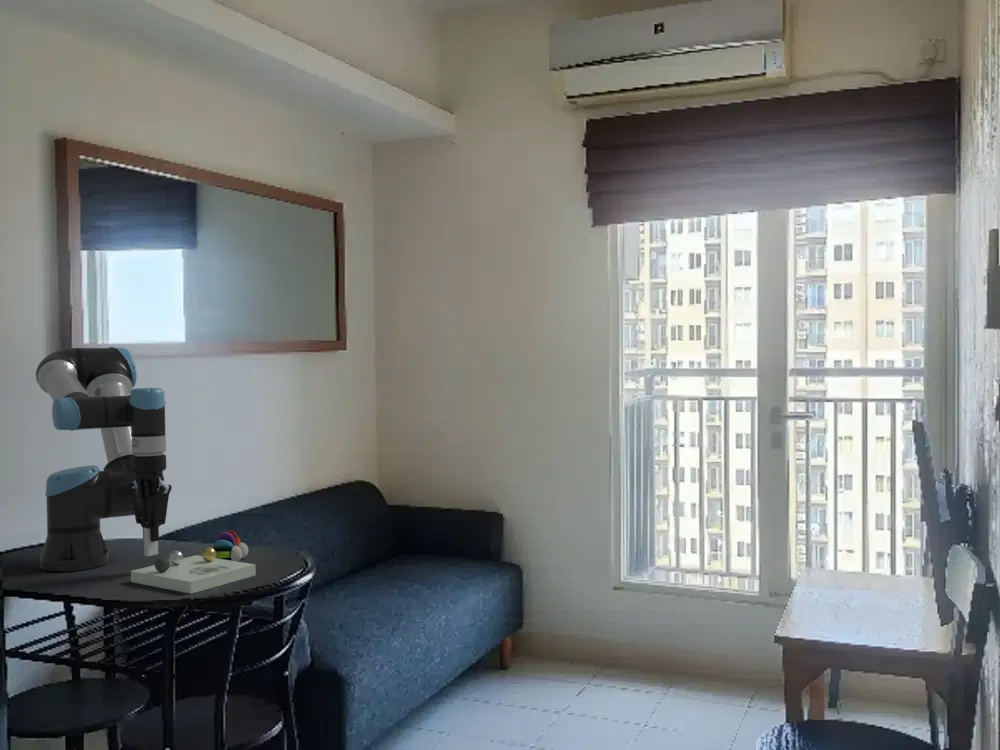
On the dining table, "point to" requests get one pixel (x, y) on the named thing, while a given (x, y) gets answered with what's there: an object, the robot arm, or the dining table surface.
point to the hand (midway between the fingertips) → (151, 554)
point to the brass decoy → (208, 554)
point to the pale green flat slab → (194, 574)
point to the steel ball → (176, 557)
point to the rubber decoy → (162, 564)
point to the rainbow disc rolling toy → (230, 546)
